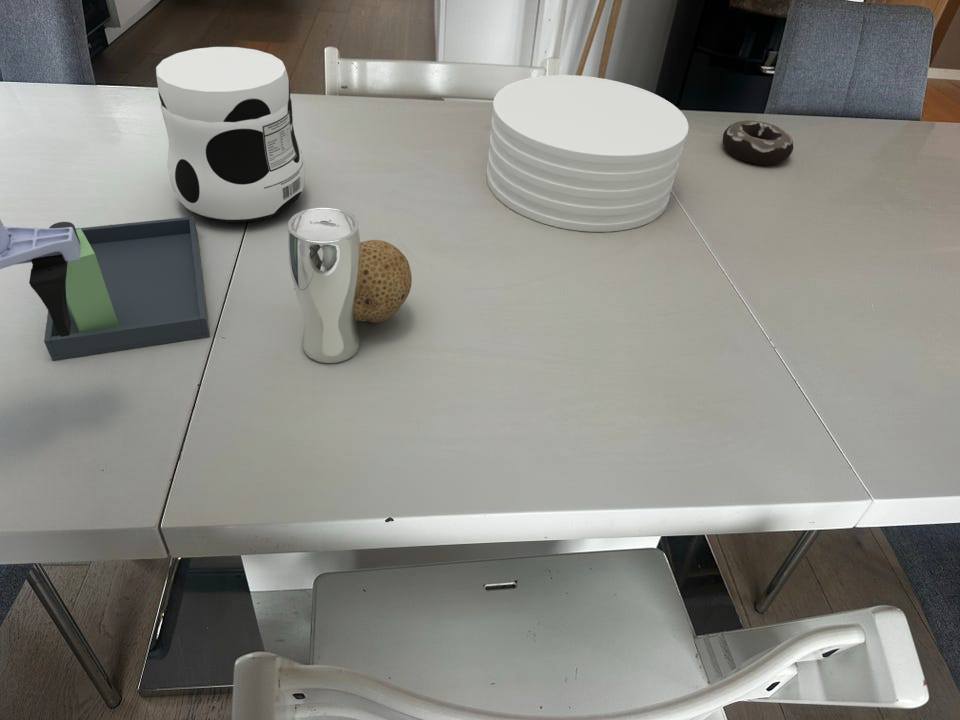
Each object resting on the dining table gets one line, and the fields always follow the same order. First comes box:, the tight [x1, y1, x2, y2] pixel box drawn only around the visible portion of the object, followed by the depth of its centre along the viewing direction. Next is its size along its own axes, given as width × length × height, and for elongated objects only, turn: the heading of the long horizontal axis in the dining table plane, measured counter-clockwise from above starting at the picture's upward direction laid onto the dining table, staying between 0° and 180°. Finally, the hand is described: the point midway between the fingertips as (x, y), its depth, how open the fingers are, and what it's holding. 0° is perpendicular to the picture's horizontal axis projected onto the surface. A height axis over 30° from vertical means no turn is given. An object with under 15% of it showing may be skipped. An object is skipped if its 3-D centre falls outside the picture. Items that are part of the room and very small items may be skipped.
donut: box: [722, 120, 794, 166], centre depth 122 cm, size 12×12×4 cm
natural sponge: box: [355, 239, 413, 324], centre depth 77 cm, size 9×9×10 cm
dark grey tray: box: [43, 216, 211, 361], centre depth 81 cm, size 15×21×3 cm
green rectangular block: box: [48, 221, 119, 333], centre depth 72 cm, size 4×5×12 cm
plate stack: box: [486, 74, 690, 233], centre depth 105 cm, size 28×28×12 cm
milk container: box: [155, 46, 306, 223], centre depth 92 cm, size 17×17×18 cm
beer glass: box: [287, 206, 362, 364], centre depth 72 cm, size 7×7×15 cm
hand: (16, 337), depth 60 cm, fingers open, 7 cm apart
